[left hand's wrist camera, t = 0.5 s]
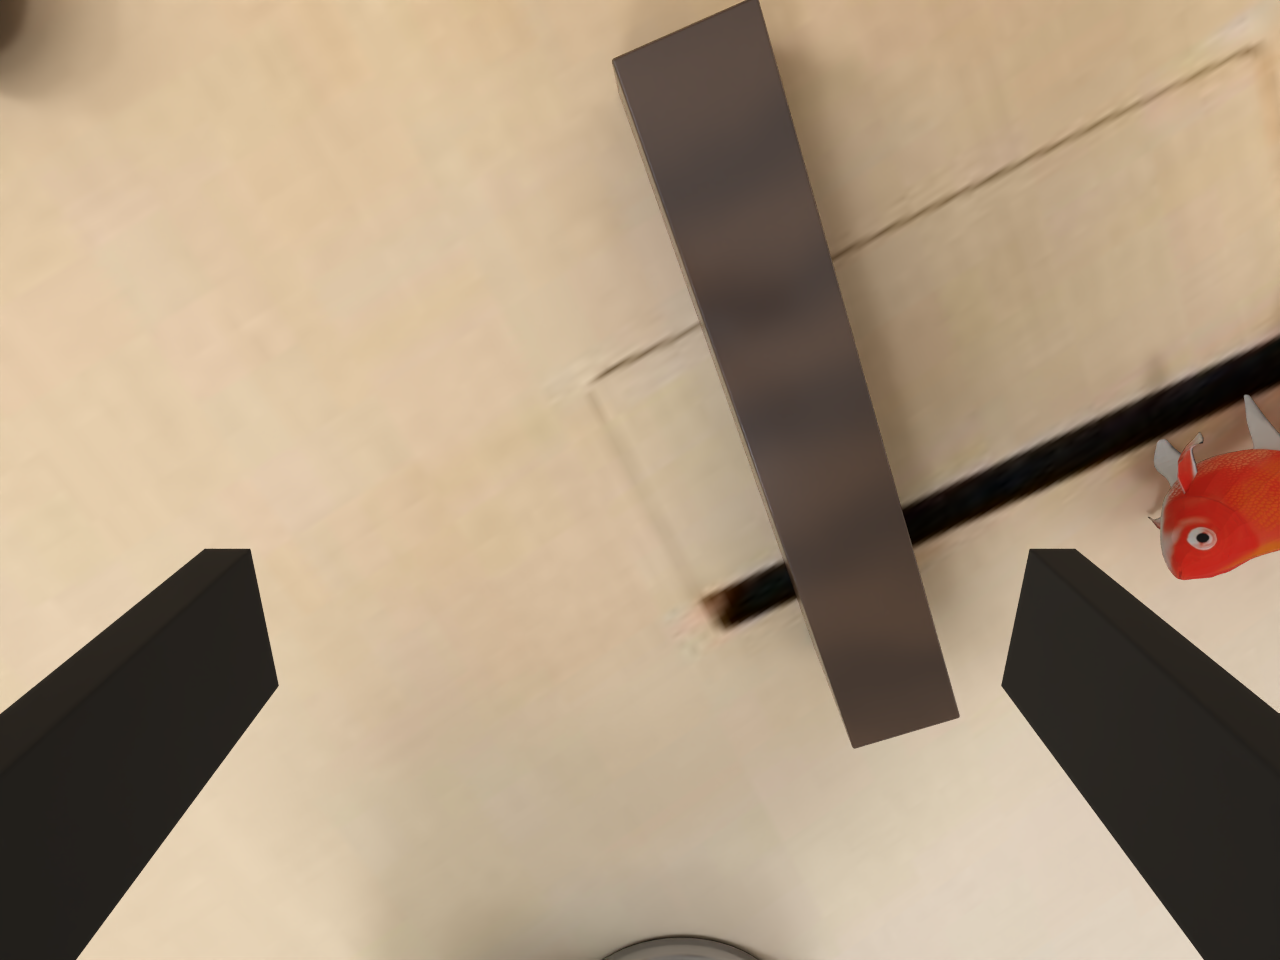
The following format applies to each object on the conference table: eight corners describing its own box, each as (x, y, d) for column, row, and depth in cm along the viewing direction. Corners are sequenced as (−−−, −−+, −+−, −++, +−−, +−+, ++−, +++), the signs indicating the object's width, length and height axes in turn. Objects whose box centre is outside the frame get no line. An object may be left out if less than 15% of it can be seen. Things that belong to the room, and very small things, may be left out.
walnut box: (902, 622, 41) (960, 718, 34) (815, 650, 42) (853, 749, 34) (729, 42, 31) (757, -6, 23) (617, 90, 32) (610, 58, 24)
